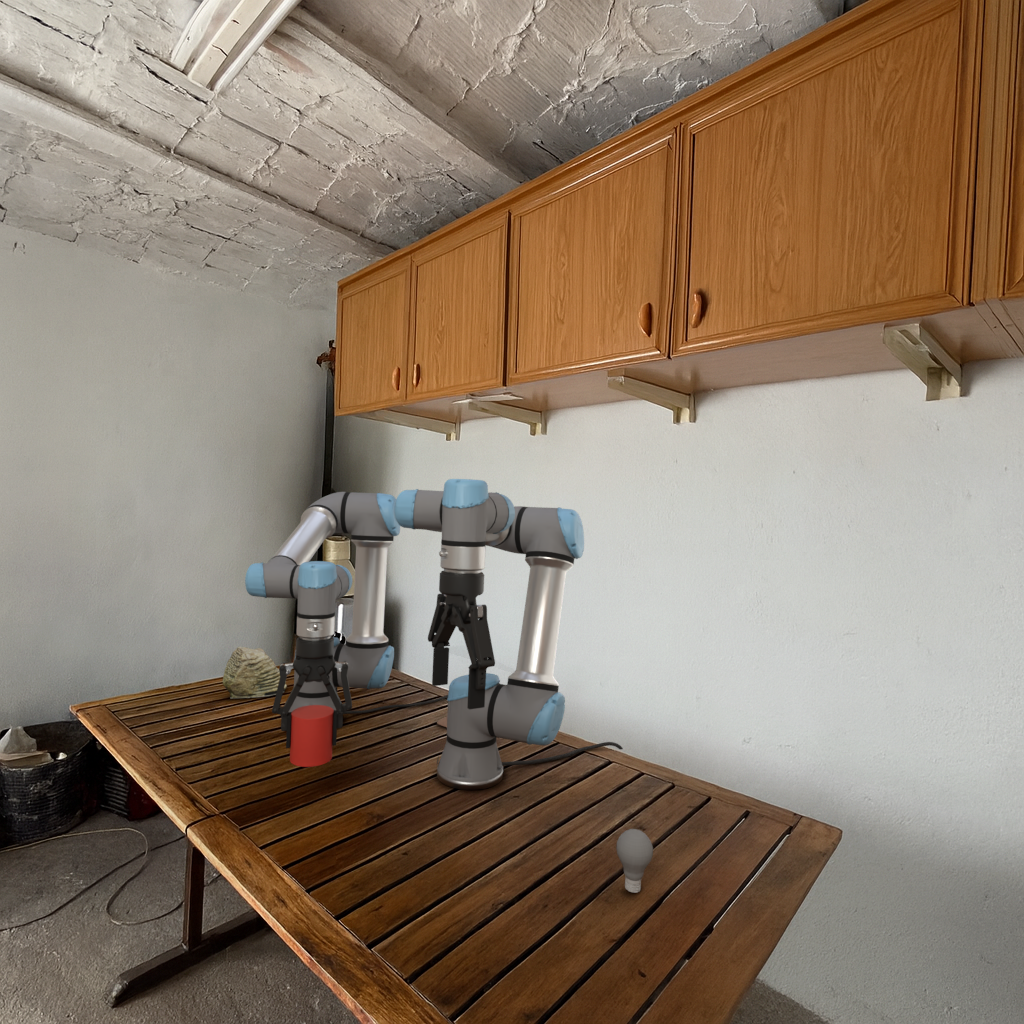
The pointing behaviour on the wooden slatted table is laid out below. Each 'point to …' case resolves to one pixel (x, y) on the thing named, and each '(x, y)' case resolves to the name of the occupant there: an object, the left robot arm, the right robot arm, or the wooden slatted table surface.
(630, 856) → the light bulb
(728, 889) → the wooden slatted table surface
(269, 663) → the fossil
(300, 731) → the can
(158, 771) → the wooden slatted table surface
